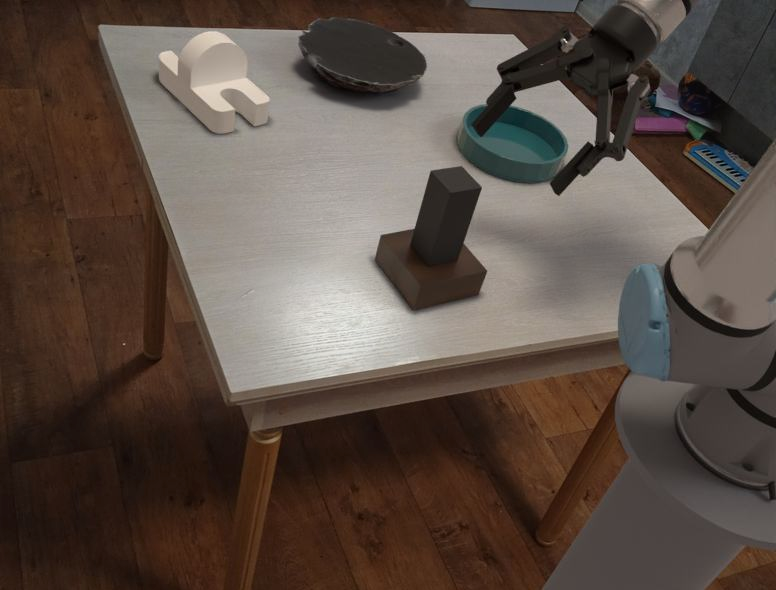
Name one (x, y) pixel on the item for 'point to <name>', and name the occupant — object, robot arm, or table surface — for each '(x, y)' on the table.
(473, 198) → the pillar
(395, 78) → the dark grey round slab
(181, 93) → the slotted bracket
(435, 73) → the table surface
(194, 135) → the table surface
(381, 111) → the table surface
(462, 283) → the stand
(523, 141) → the tin
